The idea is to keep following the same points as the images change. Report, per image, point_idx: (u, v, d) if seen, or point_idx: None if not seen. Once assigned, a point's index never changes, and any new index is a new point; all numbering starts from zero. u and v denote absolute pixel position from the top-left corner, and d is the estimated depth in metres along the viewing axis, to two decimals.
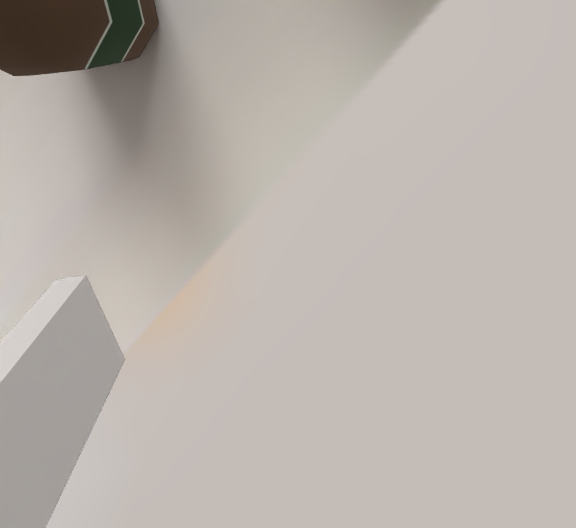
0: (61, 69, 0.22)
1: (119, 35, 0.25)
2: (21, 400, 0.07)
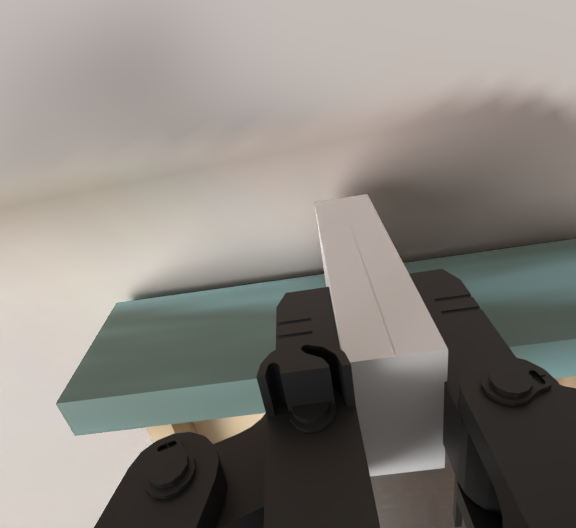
0: None
1: None
2: None
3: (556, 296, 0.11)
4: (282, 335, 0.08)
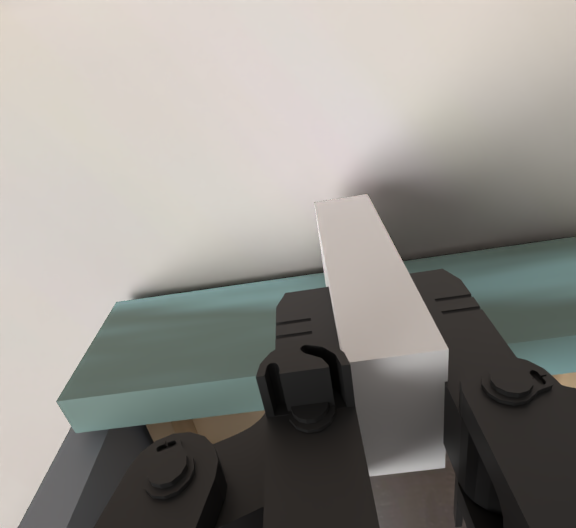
0: None
1: None
2: None
3: (552, 294, 0.11)
4: (282, 335, 0.08)
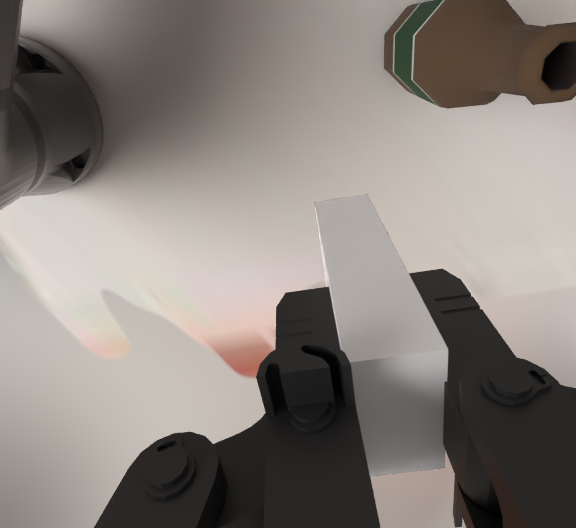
0: None
1: None
2: None
3: None
4: (282, 335, 0.08)
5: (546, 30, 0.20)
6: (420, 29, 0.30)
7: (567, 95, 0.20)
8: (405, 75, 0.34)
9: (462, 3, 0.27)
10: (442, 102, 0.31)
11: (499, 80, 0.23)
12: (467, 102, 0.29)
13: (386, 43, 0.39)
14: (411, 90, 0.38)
